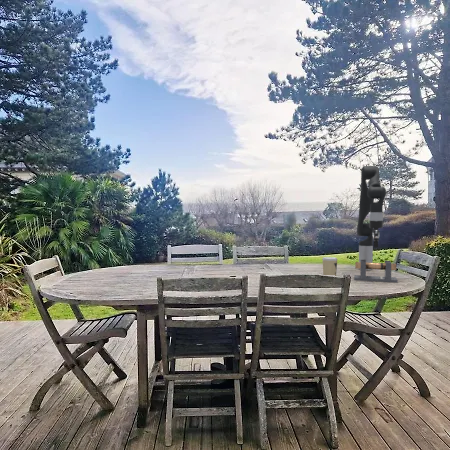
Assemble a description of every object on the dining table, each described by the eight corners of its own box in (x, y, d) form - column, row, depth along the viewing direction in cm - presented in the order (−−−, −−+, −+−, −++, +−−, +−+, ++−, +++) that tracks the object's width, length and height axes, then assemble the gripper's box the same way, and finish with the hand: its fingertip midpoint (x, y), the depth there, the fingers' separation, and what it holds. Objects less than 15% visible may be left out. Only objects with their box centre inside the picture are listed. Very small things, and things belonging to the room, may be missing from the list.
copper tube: (355, 268, 232) (355, 262, 232) (355, 267, 236) (355, 261, 236) (396, 270, 224) (396, 264, 224) (395, 269, 228) (395, 263, 228)
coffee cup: (338, 278, 237) (338, 258, 236) (322, 277, 238) (323, 258, 238) (336, 275, 246) (336, 257, 246) (321, 275, 248) (321, 256, 247)
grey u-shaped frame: (354, 277, 239) (354, 259, 239) (396, 279, 231) (396, 261, 231) (354, 280, 230) (354, 261, 229) (397, 282, 222) (397, 263, 221)
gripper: (369, 219, 237) (368, 245, 238) (369, 220, 224) (369, 247, 224) (382, 219, 234) (381, 245, 235) (383, 220, 221) (383, 248, 222)
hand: (375, 246), depth 230 cm, fingers open, 8 cm apart
